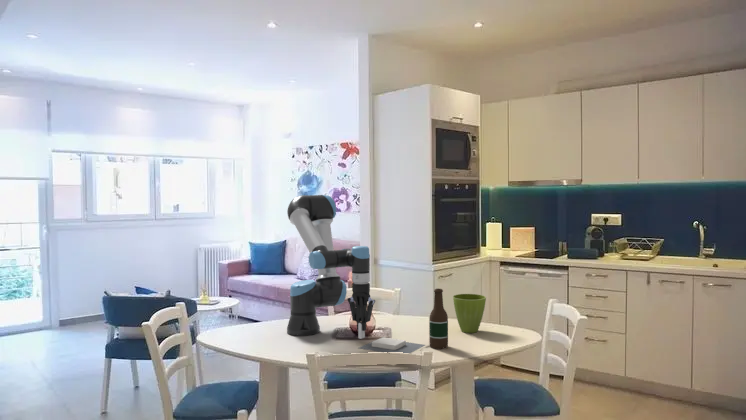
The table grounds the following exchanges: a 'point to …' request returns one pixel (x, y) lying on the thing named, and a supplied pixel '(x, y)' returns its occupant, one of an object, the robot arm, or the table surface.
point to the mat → (405, 349)
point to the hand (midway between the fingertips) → (361, 337)
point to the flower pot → (469, 311)
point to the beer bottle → (438, 323)
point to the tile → (388, 343)
